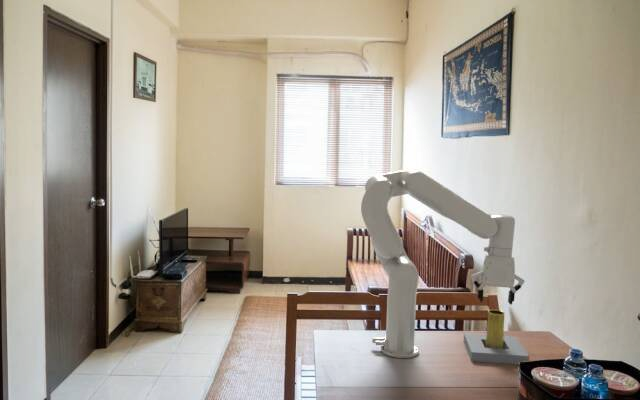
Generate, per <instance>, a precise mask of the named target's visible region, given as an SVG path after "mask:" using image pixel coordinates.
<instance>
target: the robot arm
mask: <svg viewBox="0 0 640 400" xmlns="http://www.w3.org/2000/svg"><path fill="white" fill-rule="evenodd" d="M364 190H365V193H364V194H363V197H362V199H361V205H360V211H361V213H360V214H361V216H362V219H363V222H364V224H365V227H366V229H367V232H368V234H369V236H370V238H371V239H370V241H371V245H372V249H374V252H375V254H376V257H377V258H378V260H379V263H380V264H381V266H382V269H383V270H384V272H385V274H386V276H387V278H388V288H387V298H386V299H387V300H386V320H385V321H386V325H385V326H386V327H385V334H384V336H381V337H375V336H373V337H372V339H371V342H372V344H375V345H376V346H380V351H381V353H383V354H384V355H386V356H388V357H392V358H395V359H396V358H397V359H410V358H414V357H416V356H418V355H419V352H420V351H419V348H418V347H417V346H416V345H415V333H416V332H415V330H416V312H417V311H416V309H417V295H418V293H417V291H418V286H419V271H418V269H417V267H416V265H415V264H414V263H413V262H412V260H410V258H409V256H408V254H407V252H406V250H405V248H404V246H403V245H404V244H403V240H402V237H401V236H400V235H399V232H398V231H397V228H396V226H395V225H394V224H395V223H394V222H393V220H392V218H391V216H390V215H391V214H390V213H389V210H388V205H389V201H390V200H391V199H392V198H394V197H395V198H396V197H399V196H404V195H409V196H410V197H412V198H413V199H415V200H416V201H418V202H420V203H421V204H423V205H425V206H427V207H428V208H429V209H431V210H433V211H434V212H435V213H437V214H439V215H440V216H442V217H443V218H447V219H449V220H451V221H453V222H455V223H457V224H458V225H460V226H461V227H463V228H464V229H466V230H467V231H468V232H469V233H471V234H473V235H475V237H476V236H477V237H478V238H480V239H485V240H487V239H488V240H489V241H488V245H487V246H485V247H484V248H483V252H486V254H485V256H484V260H483V263H482V264H483V265H482V269H481V271H478V272H476V273H473V274H471V275H470V279H471V280H472V283H473V284H474V286H475V287H476V288H477V299H478V300H479V302H480V303H482V302H483V301H484V300H483V299H484V288H485V287H486V286H487V287H498V288H509V289H510V290H509V291H508V297H507V303H508V304H509V305H511V306H512V305H513V302H515V297H516V293H517V292H518V291H519V290H520V289H521V288H522V286H523V285H524V283H525V282H526V281H525V279H524V278H522V277H520V276H518V275H516V274H515V273H516V271H515V270H516V264H515V257H513V256H512V255H513V247H514V246H513V245H514V237H515V226H516V219H515V218H514V217H513V216H512V215H509V214H489V213H487V212H484V211H483V210H481V209H480V208H479V207H477V206H475V205H474V204H472V203H471V202H469V201H467V200H466V199H464V198H462V197H461V196H460V195H459V194H457V193H455V192H454V191H452V190H451V189H450V188H448V187H446V186H445V185H443V184H441V183H440V182H439V181H436V180H435V179H434V178H432V177H430V176H429V175H427V174H425V173H424V172H423V171H420V170H417V169H415V168H409V169H402V170H398V171H394V172H393V171H392V172H387V173H381V174H376V175H373V176H371V177H369V178H368V179H367V180H366V183H365V187H364ZM479 277H481V278H480V279H481V280H480V282H478V281H477V278H479ZM515 280H516V281H517V283H516V284H515Z"/></svg>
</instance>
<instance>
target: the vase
mask: <svg viewBox="0 0 640 400" xmlns="http://www.w3.org/2000/svg"><path fill="white" fill-rule="evenodd" d="M504 328H505V312H504V311H502V310H501V309H500V310H499V309H489V310H488V311H487V324H486V334H485V335H486V344H485V348H498V349H503V337H504V336H505V335H504V333H505V332H504V330H505V329H504Z"/></svg>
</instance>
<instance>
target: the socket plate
mask: <svg viewBox="0 0 640 400" xmlns="http://www.w3.org/2000/svg"><path fill="white" fill-rule="evenodd" d="M486 335H487V334H482V333H481V334H480V333H479V334H478V333H463V343H464V346H465V348H466V349H465V350H466V351H467V354H468V357H469V359H470V362H478V363H492V364H493V363H494V364H509V365H519V364H518V363H519V362H523V361H530V355H529V354H528V352H527V350H526V349H525V348H524V346H523V345H522V343H521V342H520V341H519V339H518V338H517V336H511V335H510V336H509V335H504V337H503V349H498V348H485V344H486Z"/></svg>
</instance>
